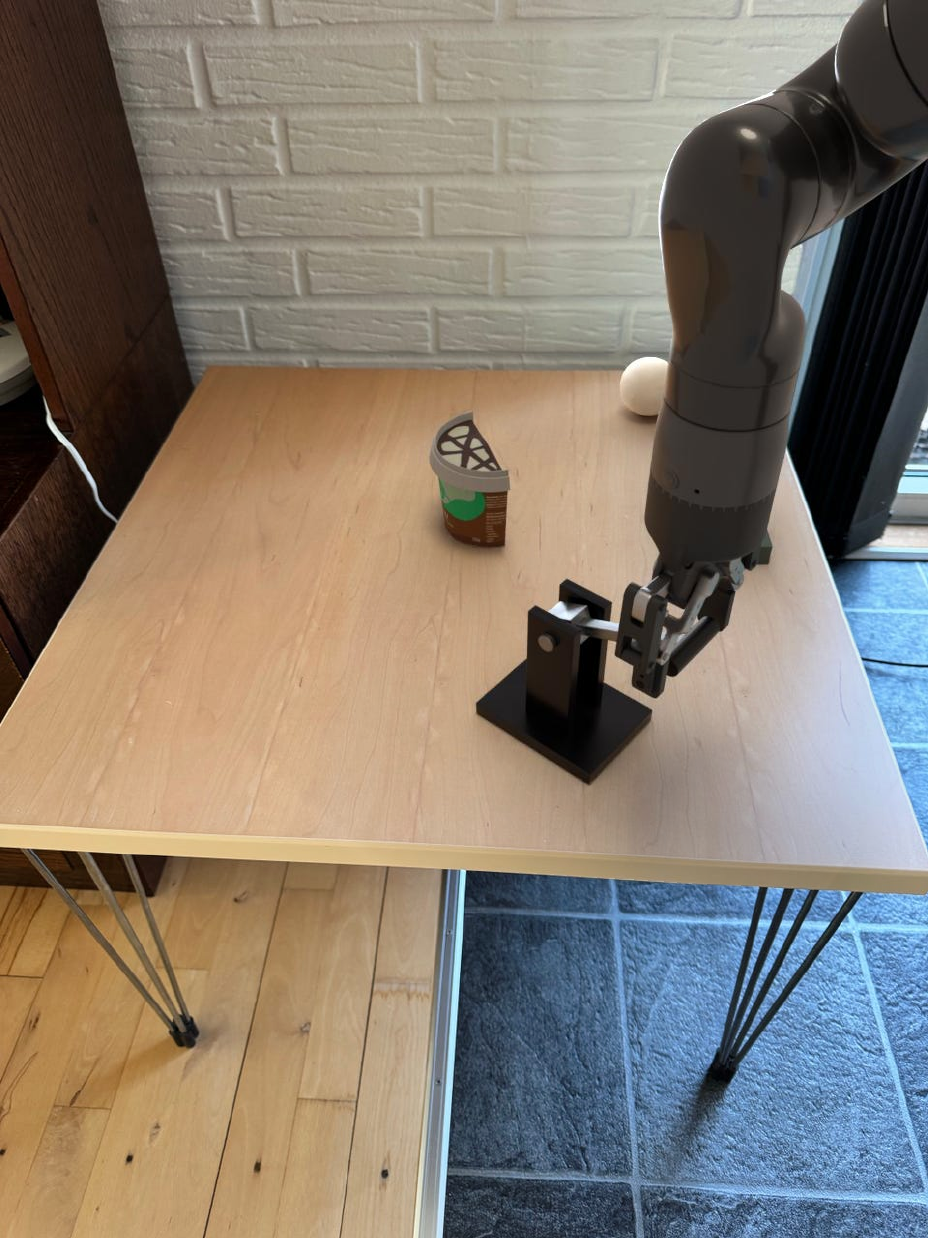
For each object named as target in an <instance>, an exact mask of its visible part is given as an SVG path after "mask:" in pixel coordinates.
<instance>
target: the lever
mask: <svg viewBox="0 0 928 1238" xmlns="http://www.w3.org/2000/svg"><path fill="white" fill-rule="evenodd" d="M547 611H548V612H549V613H551V614H553V615H555V616H557V617H559V618H560V619H562V620H564V621H566V622H568V623H570V624H571V625H573V626H575V627H577V628H579V629H581V639H580V644H581V643H582V642H583V641H585V640H586V639H587V638H588V637H594V638H599V639H604V640H608V642H615V643H616V641H617V634H618V628H619V622H615V621H610V622H609V621H603V620H598V619H592V618H591V617H590V613H589V610H588V606H586V605H580V604H574V603H568V602H562V601H560V602H557V603H556V604H555V605H554V606H553V607H551V608H550V609H549V610H547ZM666 632H667V631H663V630H662V635H661V640H660V644H661V643H662V641H663V639H664V637H665V635H666ZM719 633H720V632H719V625H718V623H717V622H716V620H714V619H713V618H711V617H708V616H705V617H702V618H701V619H700V620H697V622H696V623H695V624H693V625H692V627H691V630H690V631H689V632H688V633H686V634H681V635H680V636H679V637H678V639H677V641H676V644H675V646H674V648H673V650H672V652H671V654H670V659H669V665H668V670H667V676H666V677H670V678H676V677H677V676H678V675H679V674H680V673H681V672H682V671H683V670H684V669H685V668H686V667H687V666H688V665H689V664H690V663H691V662H692V661H693V660H694V659H695V658H696V656H698V655H699V653H700V652H701V651H702V650H703V649H705V648H706V646H707V645H708V644H709V643H710V642H711V641H712V640H713V639H714V638H715V637H716V636H717V635H718V634H719Z"/></svg>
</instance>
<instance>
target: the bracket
mask: <svg viewBox="0 0 928 1238" xmlns="http://www.w3.org/2000/svg"><path fill="white" fill-rule="evenodd" d="M558 586H559V587H558V602H560V601H562V602H568V603H574V604H580V605H586V606H588V610H589V613H590V617H591V618H592V619H598V620H603V621H609V622H611V618H612V607H613V602H612V601H611V600H610V599H607V598H606V597H603V596H601V595H600V594H597V593H595V592H594V591H592V590H590V589H588V588H587V587H585V586H583V585H580V584H579V583H576V582H574V581H573V580H571V579H569V578H565V579H564V580H563V581H562V582H560V584H559V585H558ZM558 602H557V603H558ZM548 611H549V610H546V609H544V608H542V607H541V606H539V605H537V604H534V605H533V606H532V607H530V609H528V611H527V621H526V622H527V625H526V626H527V627H526V658H525V659H523V661H521V663H519V664H518V665H517V666H516V667H515V668H514V669H513V670H511V671H510V672H509V673H507V675H506V676H504V677H503V678H502V679H501V680H500V681H498V683H497V684H495V685H494V686H493V687H492V688H490V690H489V691H488V692H486V693H485V694H484V695H483V696H482V697H481V698H480V699H478V700H477V701H476V702H475V712H476V714H478V715H479V716H480V717H482V718H483V719H485V720H487V721H489V722H490V723H491V724H493V725H495V726H496V727H498V728H499V729H501V730H503V731H504V732H505V733H507V734H509V735H510V736H512V737H514V738H515V739H517V740H518V741H520V742H521V743H523V744H525V745H526V746H527V747H529V748H531V749H532V750H534V751H535V752H537V753H538V754H540V755H542V756H543V757H545V758H546V759H548V760H550V761H551V762H552V763H554V764H555V765H557V766H559V767H561V768H562V769H564V771H566V772H568V773H570V774H571V775H573V776H575V778H577V779H579V780H580V781H582V782H584V783H585V784H587V785H591V783H593V781H594V780H596V778H597V777H598V776H599V775H600V774H601V772H603V771H604V770H605V769H606V767H607V766H609V764H611V762H612V761H613V760H614V759H615V758H616V757H617V756H618V755H619V754H620V753H621V752H622V751H623V750H624V749H625V748H626V746H628V745H629V743H630V742H631V741H633V739H634V738H635V737H636V736H637V735H638V734H639V733H640V732H641V731H642V730H643V729H644V728H645V727H646V726H647V725H648V724H649V722H651V721H652V716H653V709H652V708H650V707H648V706H646V705H645V704H643V703H641V702H640V701H638V700H636V699H635V698H632V697H631V696H629V695H628V694H626V693H624V692H622V691H620V690H619V689H617V688H616V687H614V686H611V685H610V684H608V683H606V682H605V675H606V666H607V657H608V647H609V640H604V639H599V638H594V637H588V638H587V639H586V640H585V641H583V642H582V643H581V644H580V639H581V629H579V628H577V627H575V626H573V625H571V624H570V623H568V622H566V621H564V620H562V619H560V618H559V617H557V616H555V615H553V614H551V613H549V612H548Z"/></svg>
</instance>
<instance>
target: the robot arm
mask: <svg viewBox="0 0 928 1238" xmlns="http://www.w3.org/2000/svg"><path fill="white" fill-rule="evenodd" d="M927 159H928V0H864V1H863V2H862V3H861V4H860V5H858V8H856V10H855V11H854V12H853V13H852V14H851V15H850V17H849V18H848V20H847V22H846V23H845V25H844V27H843V28H842V31H841V32H840V35H839V39H838V41H837V42H836V43H835V44H834V45H833V46H831V47H830V48H829V49H828V50H827V51H825V53H823V54H822V55H821V56H820V57H819V58H817V59H815V61H814V62H813V63H811V64H810V65H809V66H808V67H806V68H805V69H803V70H802V71H800V72H799V73H798V74H797V75H795V76H794V77H792V78H791V79H789V80H788V81H787V82H785V83H783V84H782V85H781V86H779V87H777V88H776V89H774V90H772V91H771V92H768V93H765V94H763V95H761V96H759V97H756V98H754V99H751V100H749V101H747V102H744V103H741V104H739V105H736V106H733V107H732V108H729V109H726V110H724V111H721V112H718V113H717V114H714V115H712V116H710V117H708V118H706V119H704V120H703V121H702V122H700V123H698V124H697V125H696V126H695V127H694V128H693V129H691V131H689V133H688V134H687V135H686V136H685V137H684V138H683V140H682V141H681V142H680V144H679V145H678V147H677V148H676V149H675V152H674V154H673V156H672V158H671V160H670V163H669V166H668V167H667V168H668V169H667V171H666V173H665V177H664V180H663V184H662V188H661V192H660V197H659V205H658V233H659V234H658V235H659V243H660V250H661V258H662V267H663V268H662V269H663V275H664V283H665V291H666V292H665V293H666V299H667V304H668V309H669V315H670V319H671V324H672V325H671V326H672V335H671V340H670V346H669V353H668V361H667V362H668V368H667V376H666V384H665V392H664V397H663V401H662V405H661V409H660V412H659V414H657V419H656V422H655V423H656V424H655V430H654V435H653V443H652V451H651V459H650V467H649V475H648V481H647V490H646V498H645V505H644V506H645V507H644V514H643V520H644V526H645V529H646V531H647V533H648V535H649V537H650V538H651V540H652V541H653V543H654V544H655V547H656V548H657V551H658V555H657V558H656V560H655V561H654V564H653V566H652V574H651V579H650V581H649V582H648V583H647V584H646V585H645V586H643V585H640V584H638V583H636V582H634V581H631V582H630V583H629V584H628V585H627V586H626V588H625V590H624V592H623V595H622V596H623V597H622V603H621V609H620V614H619V615H620V616H619V622H618V623H619V628H618V634H617V641H616V642H615V648H614V657H615V658H617V659H619V660H621V661H623V662H624V663H626V664H629V666H631V667H632V674H631V687H632V688H634V689H636V690H638V691H639V692H641V693H643V694H645V695H646V696H648V697H650V698H652V699H658V698H660V696H661V695H662V694H663V693H664V692H665V687H666V681H667V677H668V676H667V670H668V665H669V659H670V654H671V652H672V650H673V648H674V646H675V644H676V641H677V639H678V637H679V636H680V635H685V634H686V633H688V632H689V631H690V630H691V628H692V627H693V626H694V623H695V621H696V619H697V621H699V620H700V619H701V618H702V617H705V616H708V617H711V618H713V619H714V620H716V622H717V623H718V625H719V632H718V633H721V632H723V631H724V630H725V629H726V628H727V627H728V626H729V623H730V619H731V615H732V609H733V605H734V600H735V596H736V592H737V591H738V590H739V589H740V588H741V587H742V586H743V585H744V582H745V574H744V572H745V571H746V570H747V571H750V572H752V571H753V570H754V569H755V568H756V567H757V566H758V565H759V564H758V559H759V554H760V549H761V544H762V541H763V539H764V537H765V535H766V531H767V530H768V526H769V524H770V523H769V522H770V518H771V514H772V510H773V505H774V501H775V497H776V493H777V490H778V489H777V488H778V485H779V480H780V476H781V472H782V467H783V464H784V459H785V455H786V450H787V445H788V438H789V437H788V436H789V426H790V414H791V410H792V409H791V407H792V405H793V400H794V397H795V392H796V388H797V384H798V379H799V374H800V370H801V366H802V362H803V356H804V351H805V347H806V346H805V345H806V337H807V320H806V313H805V312H804V310H803V308H802V305H801V304H800V303H799V302H798V300H796V299H795V297H793V296H792V295H791V294H790V293H788V292H786V291H785V290H783V289H782V282H783V281H782V280H783V274H784V269H785V266H786V262H787V259H788V255H789V253H790V251H791V250H793V249H794V248H796V247H798V246H800V245H801V244H804V243H805V242H807V241H809V240H811V239H813V238H814V237H816V236H818V235H820V234H821V233H823V232H825V231H827V230H828V229H830V228H831V227H833V226H835V225H836V224H838V223H839V222H841V221H843V220H844V219H845V218H847V217H848V216H850V215H852V214H853V213H854V212H856V211H857V210H859V209H860V208H862V207H863V206H864V205H867V203H869V202H870V201H872V200H874V199H875V198H876V197H877V196H879V195H880V194H882V193H884V191H886V190H888V189H889V188H890V187H891V186H893V185H895V184H896V183H897V182H898V181H900V180H901V179H902V178H904V177H905V176H906V175H908V174H909V173H910V172H912V171H913V170H915V169H916V168H917V167H919V166H920V165H921V164H922V163H924V162H925V161H926V160H927ZM669 604H671V605H672V606H675V607H677V608H679V609H681V610H684V611H683V613H682V615H681V616H680V617H676V616H675V615H672V614H670V611H669V610H668V605H669ZM663 629H665V630H666V631H665V632H666V635H665V637H664V639H663V641H662V643H661V644H660V640H661V635H662V631H663Z"/></svg>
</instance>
